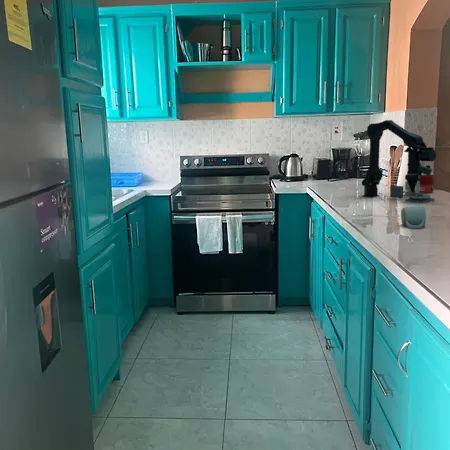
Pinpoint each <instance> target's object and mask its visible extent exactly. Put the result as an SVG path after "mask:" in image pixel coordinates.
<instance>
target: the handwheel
mask: <svg viewBox="0 0 450 450" xmlns="http://www.w3.org/2000/svg"><path fill="white" fill-rule="evenodd" d="M431 198H432V196H431V194H423V193H417V194H416V186H415V191H414V192H412V191H411V189H410V195H409V197H408V199H415V200H426V199H431Z"/></svg>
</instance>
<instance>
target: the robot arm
mask: <svg viewBox="0 0 450 450" xmlns="http://www.w3.org/2000/svg"><path fill="white" fill-rule="evenodd" d="M366 128H367V129H366V130H367V137H368V138H369V164H368V169H367V170H366V174H365V178H363V179H362V181H361V186H363V187H364V189H363V193H364V194H363V195H361V196H362V197H366V198H367V197H369V198H373V197H374V198H375V197H379V196H380V195H379V194H378V191H379V190H378V189H379V188H378V185H380V184H381V183H380V182H381V181H382V178H384V176H383V173H384V171H383V169H381V168H380V166H379V165H380V142H381V139H382V138H383V135H384V131H387V130H389V131H390V132H391V133H393V134H394V135H396V137H398V138H400V139H401V140H402V142H403V143H404V145H406V147H407V148H406V149H404V152H405V153H407V172H406V174H405V176H404V180H406V181H407V182H408V184H409V186H410V189H411V191H412V192H414V191H415V186H416V185H417V181H418V180H419V179H420V178H421V177H419V175H420V176H422V173H423V174H426V175H428V176H430V174H431V173H433V168H431V165H429V164H426V166H425V165H422V162H434V161H435V160H436V158H437V153H436V150H435V149H434V147H433V146H432V147H431V146H430V147H428V146H427V145H426V144H425V142H424V141H423V139H424V138H423V137H422V136H421V135H419V134H417V133H414V132H413V133H412V132H410V131H408V130H407V129H405V128H404V127H402V126H400V125H399V124H398V123H396V122H395V121H393V120H392V119H391V120H390V119H385V120H383V121H381V122H377V123H370V124H369V125H367V127H366Z"/></svg>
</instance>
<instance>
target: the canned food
mask: <svg viewBox="0 0 450 450" xmlns="http://www.w3.org/2000/svg"><path fill="white" fill-rule="evenodd" d="M419 177H421V178H420V179H419V180H418V181H420V190H419V193H423V194H428V195H430V194H433V193H434V182H435V181H434V180H435V179H434V178H435V174H434V173H433V172H431V174H430V176H428V175H426V174H423V173H422V176H420V175H419Z"/></svg>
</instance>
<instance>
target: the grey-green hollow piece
mask: <svg viewBox="0 0 450 450" xmlns="http://www.w3.org/2000/svg"><path fill="white" fill-rule="evenodd" d="M404 185H405V186H404V187H405V189H410V186H409V184H408V182H407V180H406V181H405V184H404ZM405 189H404V190H405ZM419 190H420V181H417V185H416V194H417V193H419ZM409 195H410V192H407V193H404V194H403V197H405V196H406V197H407V198H409Z"/></svg>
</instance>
